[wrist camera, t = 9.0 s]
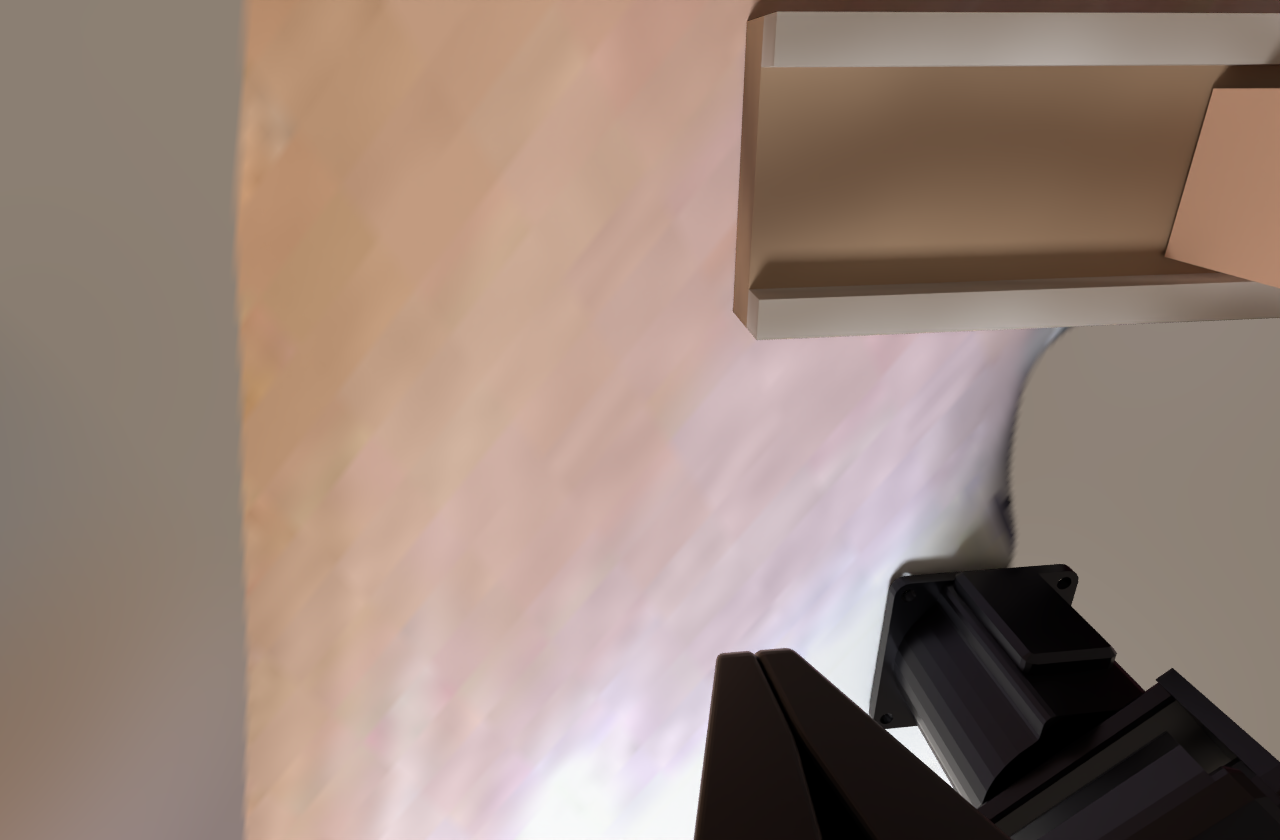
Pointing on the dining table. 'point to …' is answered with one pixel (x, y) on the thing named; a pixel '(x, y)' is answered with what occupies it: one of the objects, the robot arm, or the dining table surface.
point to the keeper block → (1234, 189)
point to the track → (981, 169)
